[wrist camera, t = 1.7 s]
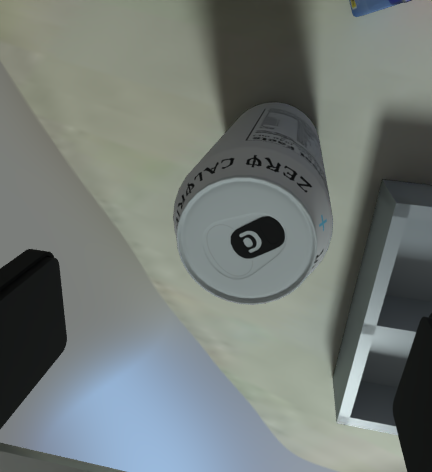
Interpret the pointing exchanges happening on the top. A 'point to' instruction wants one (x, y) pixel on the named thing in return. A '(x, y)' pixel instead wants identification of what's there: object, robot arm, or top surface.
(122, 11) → the top surface
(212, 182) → the energy drink can
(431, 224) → the can crate
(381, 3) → the ink cartridge box
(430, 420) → the robot arm
